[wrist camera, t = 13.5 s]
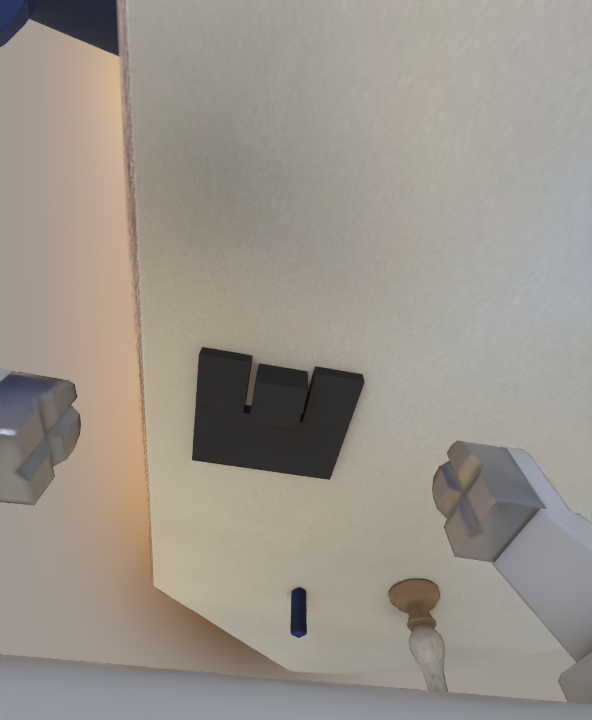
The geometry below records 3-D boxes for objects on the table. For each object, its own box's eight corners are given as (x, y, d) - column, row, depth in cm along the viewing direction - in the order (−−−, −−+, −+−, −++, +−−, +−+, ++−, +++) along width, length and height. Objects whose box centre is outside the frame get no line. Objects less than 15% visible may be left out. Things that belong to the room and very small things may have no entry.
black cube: (252, 401, 44) (248, 421, 41) (258, 363, 41) (255, 381, 38) (297, 409, 44) (297, 429, 41) (307, 371, 42) (308, 390, 39)
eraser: (298, 595, 67) (298, 639, 61) (290, 590, 66) (289, 634, 60) (307, 591, 66) (308, 635, 60) (299, 586, 65) (299, 630, 60)
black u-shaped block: (194, 451, 48) (191, 460, 47) (202, 347, 40) (198, 354, 39) (329, 471, 50) (329, 479, 49) (362, 374, 42) (364, 381, 40)
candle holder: (444, 579, 64) (498, 745, 46) (432, 605, 68) (476, 765, 51) (393, 577, 64) (428, 743, 46) (384, 603, 68) (413, 763, 51)
